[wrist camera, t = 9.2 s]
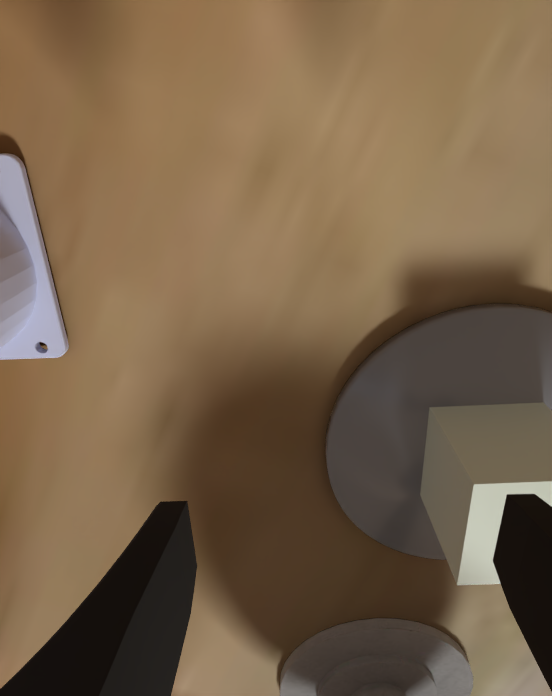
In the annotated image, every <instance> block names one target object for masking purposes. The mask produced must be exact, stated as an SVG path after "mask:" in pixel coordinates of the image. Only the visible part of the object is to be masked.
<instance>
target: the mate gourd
mask: <svg viewBox="0 0 552 696" xmlns="http://www.w3.org/2000/svg"><path fill="white" fill-rule="evenodd" d="M472 688H473V675H472V671H471V668H470V665H469V662H468V660H467V657H466V654H465V653H464V651H463V650H462V649H461V647H460V646H459V644H458V643H457V642H455V641H454V640H453V639H452V638H451V637H449V636H448V635H447V634H445V633H443V632H441V631H439V630H437V629H436V628H434V627H431V626H428V625H425V624H422V623H419V622H415V621H409V620H402V619H392V618H374V619H365V620H356V621H352V622H348V623H344V624H340V625H336V626H334V627H331V628H329V629H326V630H324V631H321V632H319V633H317V634H316V635H314V636H312V637H311V638H309V639H307V640H306V641H304V642H303V643H302V644H301V645H300V646H298V647H297V648H296V649H295V650H294V651H293V652H292V653H291V655H290V656H289V657H288V659H287V660H286V661H285V664H284V666H283V669H282V671H281V677H280V696H470V694H471V691H472Z"/></svg>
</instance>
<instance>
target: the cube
mask: <svg viewBox="0 0 552 696" xmlns="http://www.w3.org/2000/svg"><path fill="white" fill-rule="evenodd" d="M507 494H536V495H537V496H538V497H540V498H541V499H542V500H544V501H545V502H546V503H547V504H549V505H550V506H551V507H552V411H551V410H550V409H549V408H548V407H547V406H546V405H545V404H544V403H543V402H542V403H518V404H495V405H472V406H448V407H429V416H428V426H427V435H426V445H425V454H424V464H423V473H422V482H421V492H420V496H421V498H422V501H423V503H424V506H425V508H426V510H427V513H428V515H429V518H430V520H431V523H432V525H433V528H434V530H435V532H436V535H437V537H438V540H439V542H440V545H441V547H442V550H443V552H444V554H445V557H446V559H447V562H448V564H449V567H450V569H451V572H452V574H453V577H454V579H455V581H456V584H457V585H480V584H501V583H500V580H499V577H498V575H497V572H496V569H495V566H494V563H493V557H494V552H495V547H496V543H497V538H498V533H499V529H500V524H501V519H502V515H503V510H504V505H505V501H506V496H507Z"/></svg>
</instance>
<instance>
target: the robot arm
mask: <svg viewBox="0 0 552 696" xmlns="http://www.w3.org/2000/svg"><path fill="white" fill-rule="evenodd" d="M39 342H43V343H45V344H46V345H47V347H48V350H47V349H43V348H42V347H41V346H40V344H39ZM68 348H69V344H68V340H67V335H66V331H65V327H64V323H63V319H62V315H61V311H60V307H59V303H58V299H57V295H56V291H55V287H54V283H53V279H52V275H51V271H50V266H49V262H48V258H47V254H46V250H45V246H44V242H43V238H42V234H41V230H40V226H39V222H38V218H37V214H36V210H35V206H34V202H33V197H32V193H31V189H30V185H29V181H28V177H27V173H26V169H25V166H24V164H23V162H22V161H21V160H20V158H19V157H17V156H15V155H14V154H9V153H3V154H0V360H2V359H30V358H57V357H61V356H62V355H64V354H65V353H66V352H67V350H68ZM493 563H494V566H495V569H496V572H497V575H498V577H499V580H500V583H501V586H502V589H503V591H504V594H505V596H506V599H507V602H508V604H509V607H510V609H511V611H512V613H513V615H514V617H515V620H516V622H517V624H518V626H519V628H520V630H521V632H522V634H523V636H524V638H525V640H526V642H527V644H528V646H529V648H530V650H531V652H532V654H533V656H534V658H535V660H536V662H537V664H538V666H539V668H540V670H541V672H542V674H543V676H544V678H545V679H546V681H547V683H548V685H549V687H550V689H551V691H552V507H551V506H550V505H549V504H547V503H546V502H545V501H544V500H542V499H541V498H540V497H538V496H537V495H536V494H507V496H506V501H505V505H504V510H503V515H502V519H501V524H500V529H499V533H498V538H497V543H496V547H495V552H494V557H493ZM196 570H197V563H196V556H195V549H194V543H193V536H192V530H191V523H190V516H189V510H188V503H187V501H170V502H160V503H159V504H158V505H157V506H156V507H155V509H154V510H153V512H152V513H151V514H150V516H149V517H148V519H147V520H146V521H145V523H144V524H143V526H142V527H141V528H140V530H139V531H138V533H137V534H136V535H135V537H134V538H133V539H132V541H131V542H130V543H129V545H128V546H127V548H126V549H125V550H124V552H123V553H122V554H121V555H120V557H119V558H118V559H117V561H116V562H115V563H114V564H113V566H112V567H111V568H110V569H109V571H108V572H107V573H106V575H105V576H104V577H103V578H102V580H101V581H100V582H99V583H98V585H97V586H96V587H95V588H94V589H93V591H92V592H91V593H90V594H89V595H88V596H87V598H86V599H85V600H84V601H83V602H82V603H81V605H80V606H79V607H78V608H77V609H76V610H75V612H74V613H73V614H72V615H71V616H70V617H69V619H68V620H67V621H66V622H65V623H64V624H63V625H62V626H61V628H60V629H59V630H58V631H57V632H56V633H55V634H54V635H53V636H52V637H51V638H50V640H49V641H48V642H47V643H46V644H45V645H44V646H43V647H42V648H41V649H40V650H39V651H38V652H37V653H36V654H35V655H34V656H33V657H32V658H31V659H30V660H29V661H28V662H27V663H26V664H25V665H24V666H23V668H22V669H21V670H20V671H19V672H18V673H16V674H15V675H14V676H13V677H12V678H11V679H10V680H9V681H8V682H7V683H6V684H5V685H4V686H3V687H2V688H1V689H0V696H171V692H172V688H173V684H174V680H175V676H176V672H177V668H178V664H179V660H180V656H181V651H182V647H183V643H184V639H185V635H186V631H187V626H188V622H189V618H190V614H191V607H192V600H193V593H194V585H195V577H196Z"/></svg>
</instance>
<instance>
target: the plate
mask: <svg viewBox="0 0 552 696" xmlns="http://www.w3.org/2000/svg"><path fill="white" fill-rule="evenodd" d="M542 402H543V403H544V404H545V405H546V406H547V407H548V408H549V409H550V410H551V411H552V312H551V311H547V310H544V309H541V308H537V307H532V306H525V305H519V304H497V303H493V304H483V305H473V306H468V307H463V308H458V309H454V310H449V311H446V312H444V313H441V314H438V315H435V316H432V317H429V318H427V319H425V320H422V321H420V322H418V323H416V324H414V325H412V326H410V327H408V328H406V329H405V330H403V331H401V332H400V333H398V334H396V335H395V336H393V337H392V338H390V339H389V340H387V341H386V342H385V343H384V344H382V345H381V346H380V347H379V348H377V349H376V350H375V351H374V352H372V353H371V354H370V355H369V356H368V357H367V358H366V359H365V360H364V361H363V362H362V363H361V364H360V365H359V366H358V368H357V369H356V370H355V372H354V373H353V374H352V376H351V377H350V378H349V379H348V381H347V382H346V384H345V385H344V387H343V389H342V391H341V392H340V394H339V396H338V398H337V400H336V402H335V405H334V407H333V410H332V412H331V414H330V418H329V423H328V427H327V431H326V442H325V452H326V464H327V470H328V475H329V479H330V483H331V487H332V490H333V492H334V494H335V497H336V499H337V501H338V503H339V504H340V506H341V508H342V509H343V511H344V512H345V514H346V515H347V516H348V517H349V518H350V520H351V521H352V522H353V523H354V524H355V525H356V526H357V527H358V528H360V529H361V530H362V531H363V532H364V533H365V534H367V535H368V536H370V537H371V538H373V539H374V540H376V541H378V542H379V543H381V544H383V545H385V546H387V547H390V548H392V549H394V550H397V551H400V552H403V553H406V554H409V555H414V556H418V557H423V558H430V559H438V560H447V559H446V557H445V554H444V552H443V550H442V547H441V545H440V542H439V540H438V537H437V535H436V532H435V530H434V528H433V525H432V523H431V520H430V518H429V515H428V513H427V510H426V508H425V506H424V503H423V501H422V498H421V496H420V492H421V482H422V473H423V464H424V454H425V445H426V435H427V426H428V416H429V407H448V406H472V405H495V404H518V403H542Z"/></svg>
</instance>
